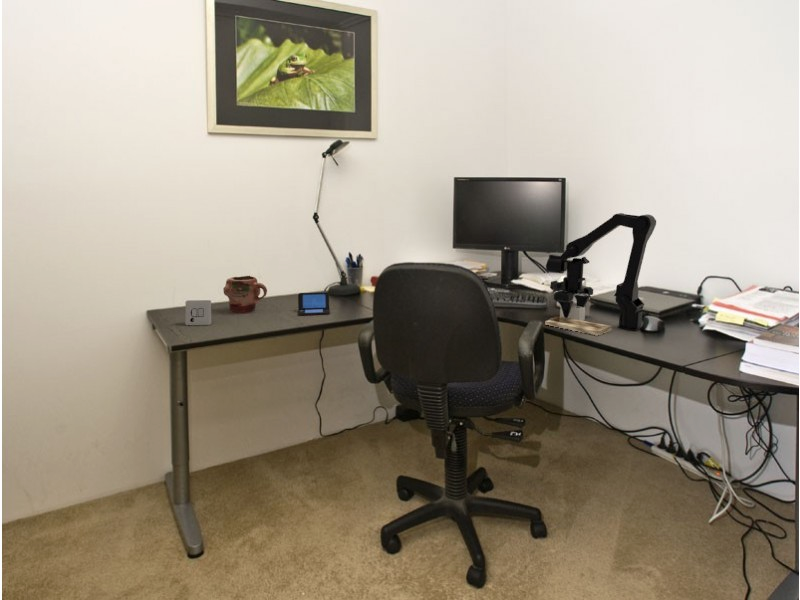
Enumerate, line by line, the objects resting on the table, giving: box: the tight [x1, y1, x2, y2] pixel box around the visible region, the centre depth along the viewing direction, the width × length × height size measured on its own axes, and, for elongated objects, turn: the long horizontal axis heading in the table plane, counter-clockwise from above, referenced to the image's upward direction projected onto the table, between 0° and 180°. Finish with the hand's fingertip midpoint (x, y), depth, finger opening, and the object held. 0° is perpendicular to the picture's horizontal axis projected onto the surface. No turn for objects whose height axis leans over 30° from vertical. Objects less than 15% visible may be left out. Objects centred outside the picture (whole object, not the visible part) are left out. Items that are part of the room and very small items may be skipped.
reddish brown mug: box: [222, 275, 268, 314], centre depth 228 cm, size 20×12×14 cm, turn 77°
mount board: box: [544, 316, 613, 337], centre depth 198 cm, size 20×10×2 cm, turn 43°
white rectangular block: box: [559, 304, 586, 321], centre depth 210 cm, size 8×4×5 cm, turn 43°
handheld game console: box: [297, 292, 331, 317], centre depth 226 cm, size 12×11×7 cm
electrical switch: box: [184, 299, 213, 326], centre depth 209 cm, size 9×5×9 cm, turn 90°
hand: (572, 315), depth 211 cm, fingers open, 9 cm apart
